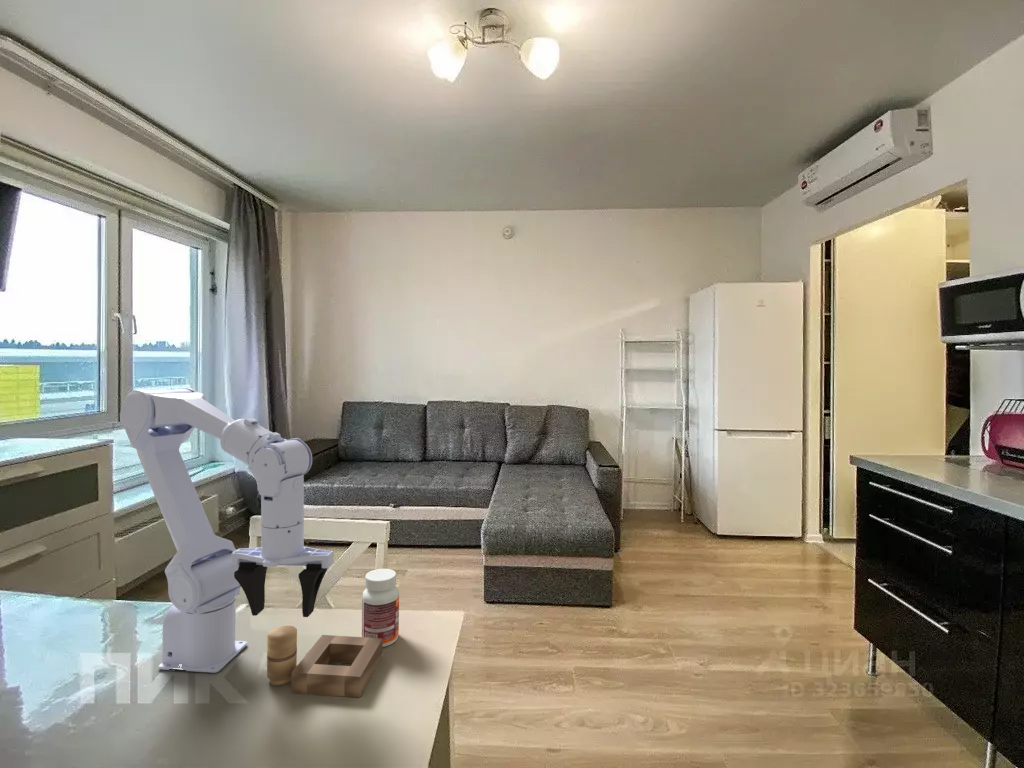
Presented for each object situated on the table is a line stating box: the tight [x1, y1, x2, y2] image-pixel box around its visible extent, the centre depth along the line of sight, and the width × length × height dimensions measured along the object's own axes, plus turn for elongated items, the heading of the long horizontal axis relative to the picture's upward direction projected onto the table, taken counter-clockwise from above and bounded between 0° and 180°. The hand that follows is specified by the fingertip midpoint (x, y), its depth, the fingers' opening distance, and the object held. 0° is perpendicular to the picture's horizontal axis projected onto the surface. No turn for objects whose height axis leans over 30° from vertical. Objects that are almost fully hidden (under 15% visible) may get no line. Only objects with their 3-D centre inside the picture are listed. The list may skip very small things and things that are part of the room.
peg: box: [266, 625, 298, 687], centre depth 74 cm, size 4×4×7 cm
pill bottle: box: [361, 568, 400, 648], centre depth 85 cm, size 6×6×11 cm
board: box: [290, 634, 383, 699], centre depth 76 cm, size 10×10×3 cm
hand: (283, 613), depth 74 cm, fingers open, 7 cm apart
